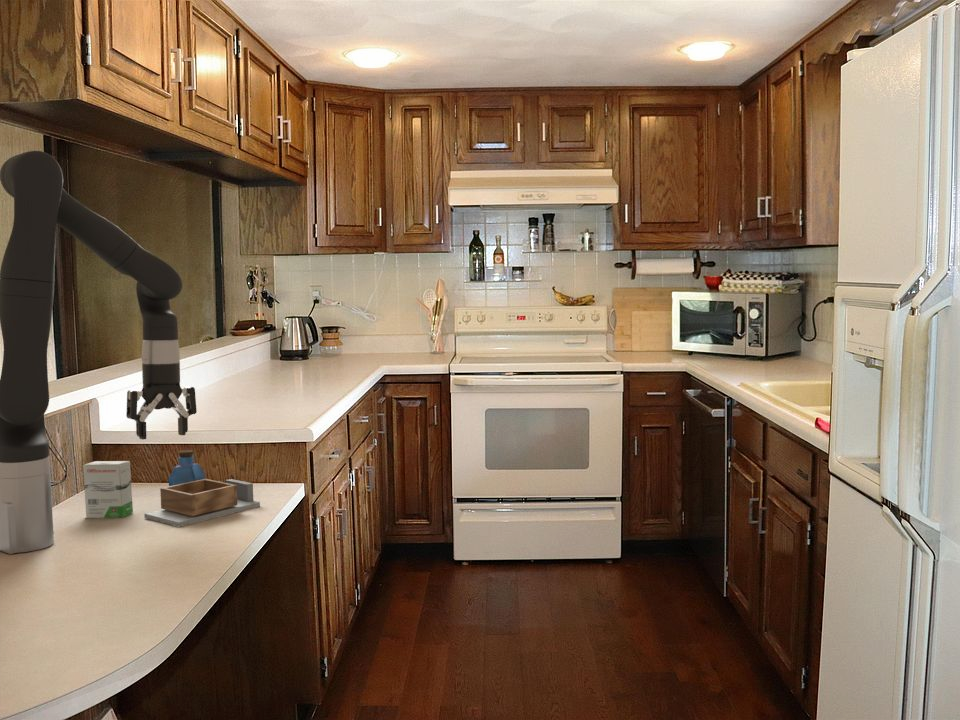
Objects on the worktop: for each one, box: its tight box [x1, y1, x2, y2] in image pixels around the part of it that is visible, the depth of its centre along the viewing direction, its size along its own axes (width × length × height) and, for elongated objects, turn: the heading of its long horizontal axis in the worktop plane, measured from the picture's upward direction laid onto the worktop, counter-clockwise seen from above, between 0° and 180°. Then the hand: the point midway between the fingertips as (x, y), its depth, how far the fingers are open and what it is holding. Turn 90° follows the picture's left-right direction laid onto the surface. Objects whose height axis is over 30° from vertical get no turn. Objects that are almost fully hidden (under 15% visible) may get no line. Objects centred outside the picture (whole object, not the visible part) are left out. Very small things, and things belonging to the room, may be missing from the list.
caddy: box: [159, 478, 237, 516], centre depth 191 cm, size 12×12×4 cm
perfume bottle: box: [168, 449, 206, 487], centre depth 201 cm, size 6×6×12 cm
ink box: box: [82, 460, 134, 519], centre depth 190 cm, size 9×5×12 cm, turn 84°
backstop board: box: [144, 478, 261, 527], centre depth 192 cm, size 21×12×5 cm, turn 143°
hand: (162, 436), depth 185 cm, fingers open, 8 cm apart
